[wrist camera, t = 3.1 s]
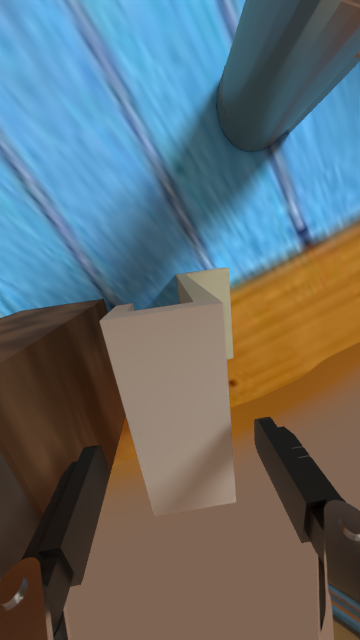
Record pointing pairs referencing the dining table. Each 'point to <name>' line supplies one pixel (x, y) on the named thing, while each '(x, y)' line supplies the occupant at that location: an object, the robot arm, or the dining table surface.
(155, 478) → the white angled bracket
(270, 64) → the robot arm
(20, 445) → the cabinet
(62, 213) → the dining table surface
